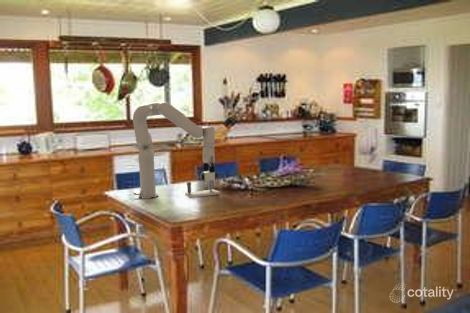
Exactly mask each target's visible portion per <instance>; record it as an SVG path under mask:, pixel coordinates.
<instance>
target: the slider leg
mask: <svg viewBox="0 0 470 313" xmlns="http://www.w3.org/2000/svg"><path fill="white" fill-rule="evenodd" d="M206 182H207V183H208V188H207V190H210V191H212V189H214V190H215V188H214V186H215V184H214V181H213V180H212V179H211V180H207V181H206Z"/></svg>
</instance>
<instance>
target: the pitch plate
mask: <svg viewBox="0 0 470 313" xmlns="http://www.w3.org/2000/svg"><path fill="white" fill-rule="evenodd" d="M186 186H187V192H185V193H184V194H185V196H186V197H188V198H193V199H194V198H199V197H206V196H207V197H208V196H214V195H220V194H221V193H220V191H218V190H216V189H215V188H214V189H212V191H210V190H209V189H206V190H205V189H204V190H197V191H196V190H195V191H192V183H191V181H187V182H186Z"/></svg>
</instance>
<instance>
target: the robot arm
mask: <svg viewBox="0 0 470 313" xmlns="http://www.w3.org/2000/svg"><path fill="white" fill-rule="evenodd" d="M153 116H163V117H164V118H166V119H167V120H168V121H170V122H171V123H173V124H174V125H175V126H176V127H178V128H180V129H181V130H183V131H184V132H186V133H187V134H189V136H191V137H193V138H194V139H200V138H202V145H203V146H202V160H201V161H202V162H203V172H206V171H208V170H209V171H210V173H213V172H214V171H215V165H216V159H215V157H216V155H215V154H216V153H215V147H216V145H215V141H216V140H215V136H216V135H215V133H216V132H215V130H216V129H215V127H214V126H210V125H207V126H203V125H202V126H201V125H198V124H196V123H195V122H194V121H192V120H190V119H189V117H187V116H186V115H185V114H184V113H183V112H182V111H180V110H178V109H177V108H176V107H175V106H173V105H172V104H171V103H169V102H168V101H165V100H164V101H157V102H149V103H142V104H140V105H139V106H138V107H137V108H136V109H135V110H134V112H133V114H132V124H133V130H134V134H135V135H134V138H135V142H136V144H137V147H138V150H139V152H138V157H137V158H138V166H139V168H138V169H139V182H140V183H139V184H140V189H139V190H138V191H135V192H133V196H138V198H139V197H143V198H142V199H145V198H146V199H152V198H151V197H155V198H157V197H156V196H158V197H159V194H158V193H156V192H157V190H156V175H155V173H156V170H155V150H154V149H155V148H154V145H153V144H154V143H153V138H152V135H151V133H149V128H148V122H147V119H148V117H153Z"/></svg>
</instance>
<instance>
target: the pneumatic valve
mask: <svg viewBox="0 0 470 313" xmlns="http://www.w3.org/2000/svg"><path fill="white" fill-rule="evenodd" d="M211 179H212V180H213V182H214V181H217V179H218V173H217V172H216V171H215V170H214V172H213V173H210V169H208V170H206V171H201V172H200V174H199V180H200V181H202V182H204V186H205V188H207V189H208V183H207V180H211Z"/></svg>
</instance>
